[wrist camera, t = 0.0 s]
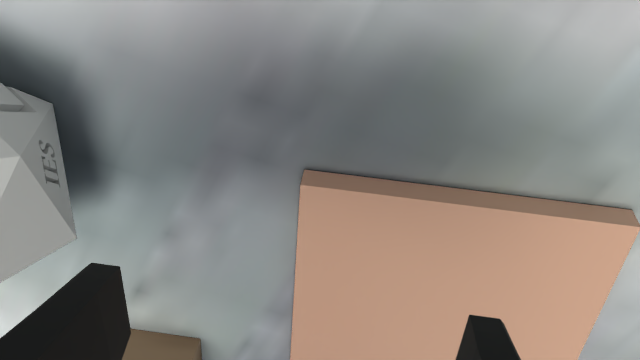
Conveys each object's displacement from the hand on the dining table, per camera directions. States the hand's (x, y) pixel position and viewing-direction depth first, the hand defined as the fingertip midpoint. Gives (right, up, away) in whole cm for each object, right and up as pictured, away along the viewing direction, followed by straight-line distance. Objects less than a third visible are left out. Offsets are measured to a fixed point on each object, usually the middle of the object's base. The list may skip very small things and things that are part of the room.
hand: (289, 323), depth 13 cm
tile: (+6, -2, +13) cm, 14 cm away
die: (-12, +5, +11) cm, 17 cm away
